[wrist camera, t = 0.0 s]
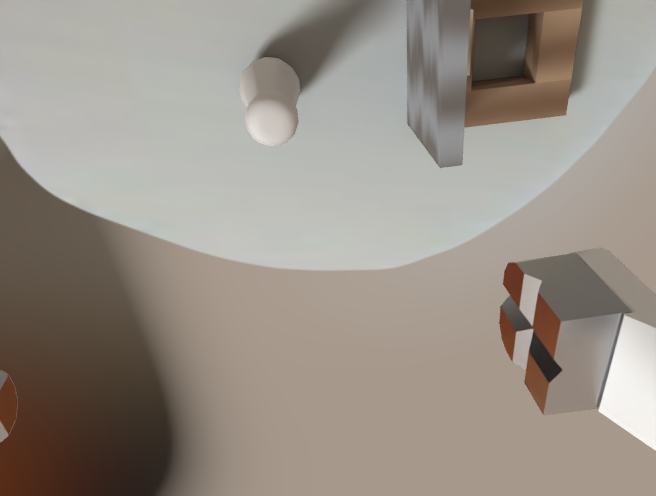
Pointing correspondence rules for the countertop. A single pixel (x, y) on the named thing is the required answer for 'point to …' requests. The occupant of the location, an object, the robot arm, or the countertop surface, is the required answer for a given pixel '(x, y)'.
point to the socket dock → (488, 95)
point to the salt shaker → (270, 100)
